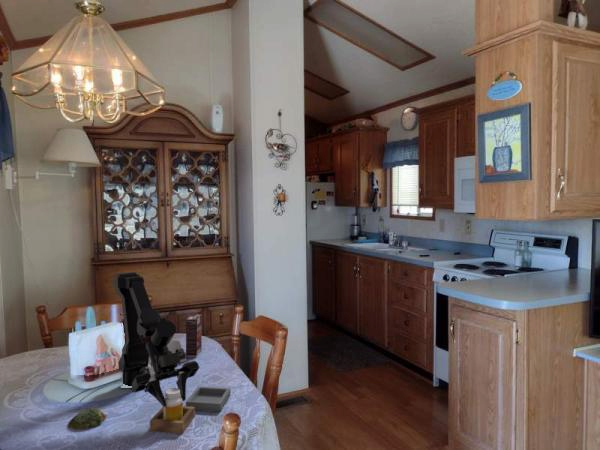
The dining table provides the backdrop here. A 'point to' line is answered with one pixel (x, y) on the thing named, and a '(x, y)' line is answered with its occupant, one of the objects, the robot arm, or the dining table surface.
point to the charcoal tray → (209, 398)
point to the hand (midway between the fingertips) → (174, 403)
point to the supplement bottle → (173, 405)
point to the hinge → (172, 347)
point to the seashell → (87, 419)
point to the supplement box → (193, 335)
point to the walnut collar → (172, 422)
